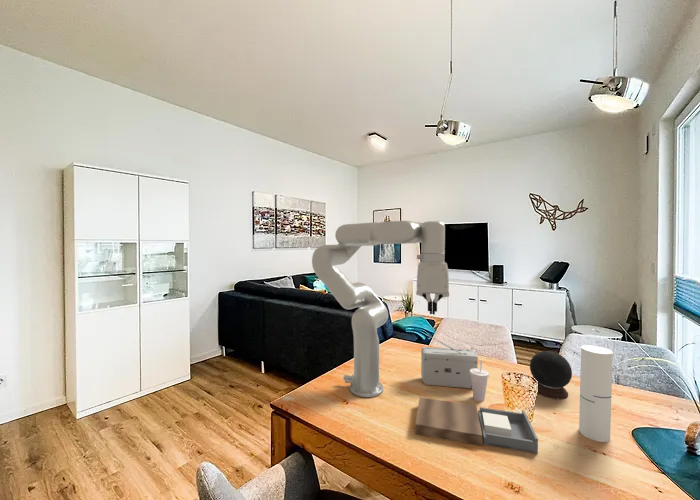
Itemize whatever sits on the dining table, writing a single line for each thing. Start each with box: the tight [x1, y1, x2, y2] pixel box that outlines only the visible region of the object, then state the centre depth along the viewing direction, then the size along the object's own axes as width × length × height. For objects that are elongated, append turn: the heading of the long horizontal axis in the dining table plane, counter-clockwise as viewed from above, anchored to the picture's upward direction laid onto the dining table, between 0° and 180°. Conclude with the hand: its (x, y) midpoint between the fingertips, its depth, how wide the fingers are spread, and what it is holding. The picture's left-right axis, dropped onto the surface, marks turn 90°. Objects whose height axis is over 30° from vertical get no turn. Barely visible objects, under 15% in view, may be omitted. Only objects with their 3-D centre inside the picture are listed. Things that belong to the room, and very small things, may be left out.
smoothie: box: [470, 359, 490, 402], centre depth 110 cm, size 6×6×14 cm
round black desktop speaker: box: [529, 350, 573, 400], centre depth 115 cm, size 13×13×15 cm
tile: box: [482, 412, 511, 437], centre depth 91 cm, size 7×7×2 cm
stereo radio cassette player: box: [420, 334, 479, 389], centre depth 121 cm, size 21×8×20 cm, turn 80°
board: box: [415, 396, 483, 447], centre depth 95 cm, size 18×16×3 cm
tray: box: [477, 407, 539, 455], centre depth 90 cm, size 13×14×4 cm
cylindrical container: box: [578, 344, 614, 443], centre depth 89 cm, size 7×7×25 cm
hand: (432, 313), depth 103 cm, fingers closed
